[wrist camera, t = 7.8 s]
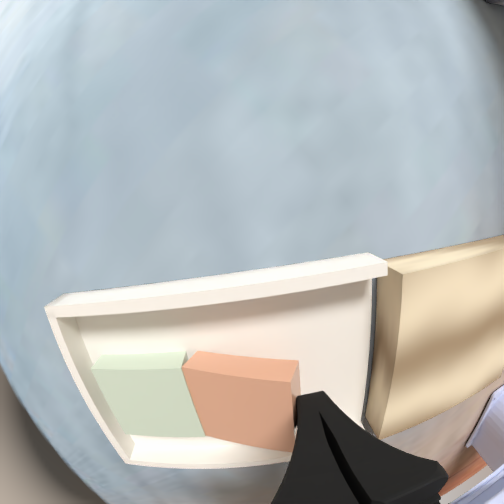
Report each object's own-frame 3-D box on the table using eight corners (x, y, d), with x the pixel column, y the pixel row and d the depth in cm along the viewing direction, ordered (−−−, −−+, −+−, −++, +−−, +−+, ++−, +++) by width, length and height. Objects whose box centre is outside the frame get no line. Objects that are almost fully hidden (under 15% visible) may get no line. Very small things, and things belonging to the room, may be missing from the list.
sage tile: (125, 434, 12) (131, 418, 14) (205, 436, 12) (207, 419, 14) (90, 368, 11) (101, 354, 13) (180, 368, 11) (186, 351, 13)
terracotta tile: (302, 432, 12) (295, 452, 11) (217, 418, 14) (205, 435, 13) (298, 360, 11) (290, 382, 10) (197, 350, 13) (181, 366, 11)
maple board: (483, 363, 15) (500, 377, 13) (365, 416, 15) (378, 440, 13) (506, 234, 13) (530, 240, 11) (376, 260, 13) (402, 274, 10)
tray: (357, 422, 15) (367, 442, 13) (132, 444, 15) (125, 463, 13) (367, 252, 13) (387, 261, 11) (64, 293, 12) (44, 306, 10)
